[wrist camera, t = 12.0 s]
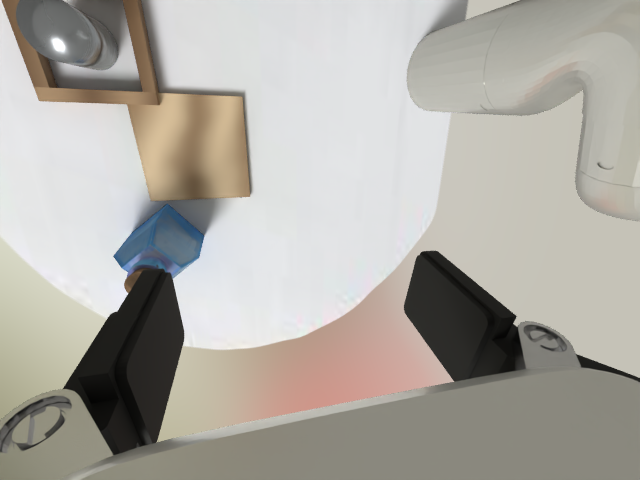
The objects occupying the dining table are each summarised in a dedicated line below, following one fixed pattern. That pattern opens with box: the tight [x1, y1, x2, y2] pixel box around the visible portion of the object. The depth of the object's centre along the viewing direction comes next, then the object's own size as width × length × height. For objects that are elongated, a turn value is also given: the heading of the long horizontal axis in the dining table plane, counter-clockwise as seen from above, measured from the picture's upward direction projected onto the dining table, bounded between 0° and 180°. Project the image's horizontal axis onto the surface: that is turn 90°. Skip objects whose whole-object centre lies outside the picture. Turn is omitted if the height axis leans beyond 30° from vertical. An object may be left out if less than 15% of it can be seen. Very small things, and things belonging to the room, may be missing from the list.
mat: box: [127, 93, 250, 201], centre depth 33 cm, size 12×12×1 cm
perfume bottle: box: [113, 204, 204, 293], centre depth 32 cm, size 6×6×12 cm
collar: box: [2, 0, 160, 105], centre depth 26 cm, size 10×10×2 cm
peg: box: [16, 0, 118, 70], centre depth 24 cm, size 4×4×6 cm
